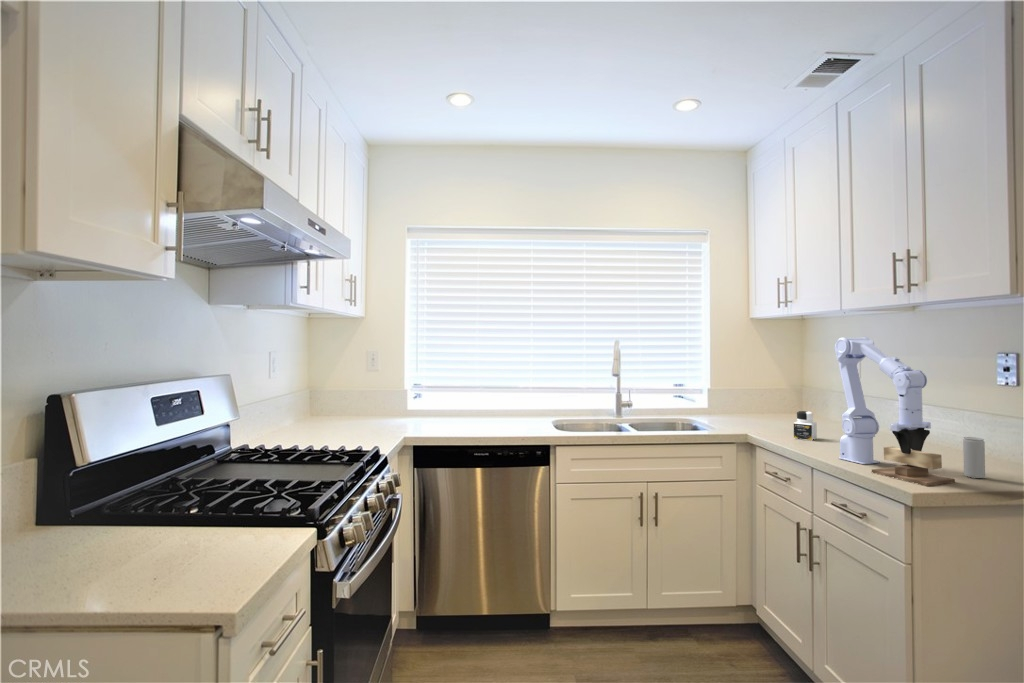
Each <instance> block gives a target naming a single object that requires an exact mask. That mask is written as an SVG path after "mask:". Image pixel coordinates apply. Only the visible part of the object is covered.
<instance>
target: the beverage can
mask: <svg viewBox="0 0 1024 683" xmlns="http://www.w3.org/2000/svg"><path fill="white" fill-rule="evenodd" d="M985 442H986V441H985V439H984V438H981V437H972V436H964V437H963V439H962V446H963V447H962V449H963V450H962V451H963V452H962V453H963V454H962V455H963V474H964V476H965V477H967V476H968V477H967V478H970V477H972V478H971V479H975V478H983V479H985V477H986V447H985V446H986V445H985V444H986V443H985Z"/></svg>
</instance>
